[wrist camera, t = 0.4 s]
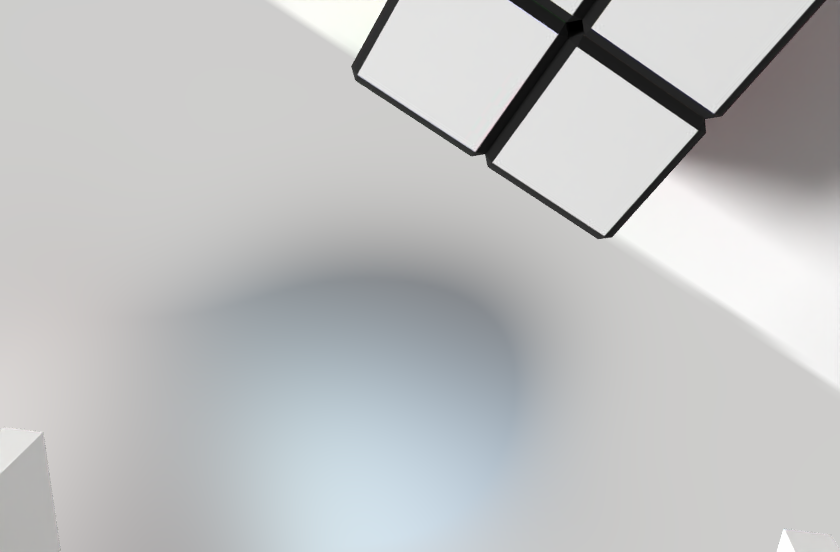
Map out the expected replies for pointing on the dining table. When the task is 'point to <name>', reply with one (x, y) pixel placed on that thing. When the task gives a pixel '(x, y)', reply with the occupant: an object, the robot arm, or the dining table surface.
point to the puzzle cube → (575, 85)
